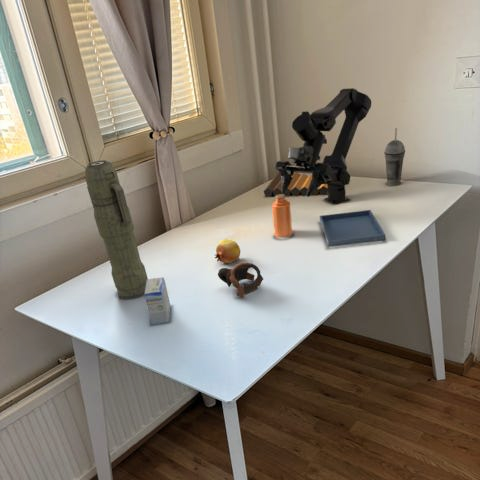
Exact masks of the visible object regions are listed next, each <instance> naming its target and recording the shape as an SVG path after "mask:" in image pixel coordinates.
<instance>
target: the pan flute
mask: <svg viewBox="0 0 480 480" xmlns="http://www.w3.org/2000/svg"><path fill="white" fill-rule="evenodd" d="M291 177H292V178H293V179H292V181H291V183H290V184H289V186H288V188H287V190H286V192H285V194H284V195H285V197H290V196H291V195H292V197H298V196H299V195H300V194H301V196H307V191H308V188H309V185H310V183H311V180H312V174H310V175H307V173H302V174H301V173H300V172H294V174H293V175H292V176H291ZM263 194H264V197H266V198H269V197H270V198H271V197H272V196H274V197H275V196H276V195H279V194H282V178H281V174H280V173H279V172H278V171H277V173H276V174H275V176H274V177H273V179H271V181H270V182H269V184H268V185H267V186H266V187H265V189H264V190H263ZM318 194H319V195H320V196H325V195H327V196H328V186H327V184H322V185H321V186H319V187H318V188H317V189H316V190H315V191H314V192H313V193H312V194H311V195H310V196H317V195H318Z"/></svg>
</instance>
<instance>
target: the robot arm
mask: <svg viewBox="0 0 480 480" xmlns="http://www.w3.org/2000/svg"><path fill="white" fill-rule="evenodd" d="M371 108H372V99H371V98H370V96H369V95H367V94H366V93H363V92H361V91H359V90H357V89H356V88H354V87H351V88H349V87H348V88H342V89H340V91H339V93H338V94H336V95H335V97H334V98H333V99H331V101H330V102H328V104H326V106H324V107H322V108H318V109H316V110H313V112H311V113H310V112H309V111H308V110H307V111H302V112H301V114H299V115H298V116H297V117H295V119H293V121H292V123H291V127H292V129H293V131H294V132H295V134H296V135H297V136H298V137H299V139H300V140H301V141H302V142H303V145H302V146H300V147H289V148H288V156H287V159H289V160H290V159H291V160H292V162H293V164H296V165H293V164H291V163H290V162H289V160H278V161H276V163H275V165H274V169H275V170H276V171H277V173H278V172H279V173H280V174H281V178H282V194H285V192H286V190H287V188H288V186H289V184H290V183H291V181H292V179H293V178H292V177H291V176H292V175H293V174H294V173H295V172H297V173H299V174H301V173H302V174H303V173H304V174H311V175H312V180H311V183H310V185H309V188H308V191H307V195H306V197H308V198H309V197H311V196H312V195H311V194H312V193H313V192H314V191H315V190H316V189H317V188H318V187H319V186H321V185H322V184H327V186H328V193H327V197H324V198H323V201H325V202H327V203H330V204H332V205H337V204H339V203H343V202H346V201H349V200H350V199H349V197H346V185H347V186H348V185H349V184H350V182H351V174H350V173H349V172H348V170H347V169H348V166H347V162H346V159H347V156H348V153H349V151H350V149H351V148H350V147H351V144H352V142H353V140H354V137H355V134H356V132H357V129H358V127H359V124H360V123H361V121H363V120H364V119H365V118H366V117H367V115H368V113H369V112H370V109H371ZM343 112H344V114H345V119H344V121H343V124H342V126H341V128H340V132H339V135H338V137H337V140H336V143H335V145H334V147H333V150H332V153H331V154H330V155H325V156H324V158H323V161H322V162H318V161H320V160H321V156H320V154H321V151H322V148H323V145H326V144H328V139H327V137H326V135H325V134H323V132H331V131H332V129H333V128H334V126H335V125H336V124H337V118H338V116H340V115H341V113H343Z"/></svg>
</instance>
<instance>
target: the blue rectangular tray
mask: <svg viewBox="0 0 480 480" xmlns="http://www.w3.org/2000/svg"><path fill="white" fill-rule="evenodd" d="M319 222H320V226H321V229H322V231H323V234H324V237H325V240H326V244H327V246H328V248H329V247H337V246H338V247H339V246H345V245H355V244H362V243H363V244H364V243H372V242H380V241H386V238H387V237H386V233H385V231H384V230H383V228H382V226H381V225H380V223H379V222H378V220H377V218H376V217H375V215H374V213H373V212H372V210H371V209H366V210H365V209H364V210H358V211H349V212H341V213H333V214H332V213H331V214H324V215H319Z"/></svg>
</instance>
